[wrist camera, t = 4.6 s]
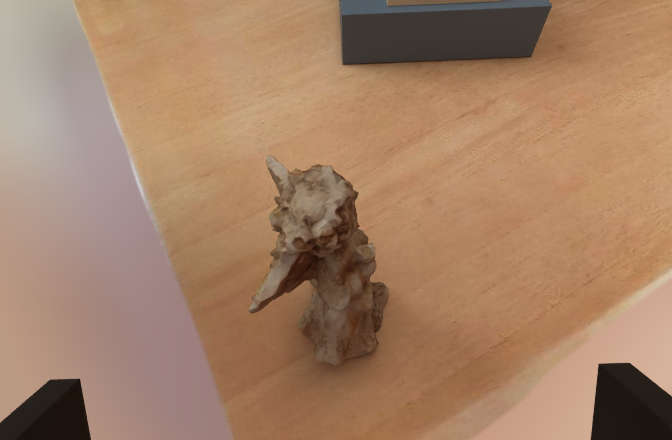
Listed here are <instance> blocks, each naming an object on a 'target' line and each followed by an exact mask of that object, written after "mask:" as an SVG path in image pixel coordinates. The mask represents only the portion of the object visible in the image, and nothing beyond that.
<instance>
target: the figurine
mask: <svg viewBox="0 0 672 440" xmlns="http://www.w3.org/2000/svg"><path fill="white" fill-rule="evenodd" d="M266 163H267V167H268V169H269V172H270V174H271V176H272V178H273V180H274V182H275V184H276V185H277V188H278V190H279V193H280V195H281V196H280V197H279V198H278V197H276V196H275V197H274V199H275V201H276V203H277V204H278V205H279V206H278V207H277V209H274V210H273V212H272V213H271V215H270V216H269V219H270V222H271V225H272V227H273V230H274V231H277V232H280V234H279V236H278V238H277V241H276V244H277V248H275V249H274V250H273V251H271V252H270V253H271V256H273V257H274V260H273V261H272V262H271V264H270V267H271V270H270V271H269V273H268V274H267V276H266V277H265V279H264V280H263V282H262V284H261V285H260V287H259V288H258V290H257V292H256V294H255V295H254V296H252V299H253V300H254V301H253V303H252V305H251V307H250V308H249V310H248V311H249V312H250V313H252V314H253V313H256V312H258V311H260V310H261V309H263V308H264V307H265V306H266V305H267V304H268V303H270V302H271V301H272V300H275V299H276V298H278V297H279V296H281V295H283V294H284V293H285V292H286V293H289V292H291V291H292V290H294V289H295V288H296V287H298V286H299V285H300V284H301V283H303V282H304V281H305V280H310V283H311V284H312V285H313V286H314V287H315V288H316V290H315V293H314V294H313V295H312V300H311V303H310V305H309V307H308V308H307V309H306V310H305V312H304V314H303V316H302V317H301V318H300V319H299V320H298V322H297V324H298V327H299V328H300V329H301V330H302V333H303V334H305V335H307V336H308V337H310V338H311V339H312V340H313V341H314V342H315V343H316V344H317V347H316V349H315V350H314V355H315V357H316V358H317V360H320V361H323V362H325V363H328V364H330V365H333V366H335V367H339V366H341V365H342V363H343V361H344V359H346V358H350V357H361V356H365V355H366V354H367V353H368V352H370V351H372V350H374V349H375V348H376V346H377V345H378V344H379V343H378V341H377V339H376V334H375V331H378V330H379V328H380V327H381V322H382V318H383V315H382V314H383V306H384V304H385V302H386V301H387V300H388V297H389V294H388V288H387V287H386V286H385V285H384V284H383V283H381V282H379V283H373V282H370V276H371V275H372V274H373V273H374V272H375V269H376V260H374V259H375V247H374V245H373V244H372V243H371V244H368V237H367V236H366V234H365V233H364V232H363V231H362V230H360V229H357V228H358V227H359V224H358V223H357V222H358V221H357V213H356V208H355V204H354V203H355V200H356V198H357V196H358V192H356V191H354V190H353V186H352V184H351V183H350V182H349V181H346V180H345V179H344V178H343V177H342V176H341V175H339V174H338V173H336V172H335V171H334V170H333V168H332V166H331V165H330V166H322V165H319V164H318V165H315V166H312V167H311V168H310V169H309V170H307V171H301V170H298V169H295V170H294V171H292V172H289V171H288V170H287V168H286V167H285V166H284V165H282V164H281V163H280V162H279V161H278V160H277V159H276V158H275V157H273V156H272V155H268V156H267V159H266Z"/></svg>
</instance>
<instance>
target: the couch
mask: <svg viewBox="0 0 672 440" xmlns="http://www.w3.org/2000/svg"><path fill="white" fill-rule="evenodd" d="M339 4H340V23H341V42H342V62H343V64H362V63H386V62H410V61H435V60H459V59H483V58H508V57H531V55H532V53H533V50H534V48H535V46H536V43H537V41H538V38H539V36H540V34H541V31H542V29H543V26H544V24H545V21H546V19H547V17H548V14H549V12H550V9H551V7H552V5H551V3H550V2H549V0H339Z"/></svg>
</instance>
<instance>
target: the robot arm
mask: <svg viewBox="0 0 672 440" xmlns="http://www.w3.org/2000/svg"><path fill="white" fill-rule="evenodd" d="M591 434H592V435H591V440H672V396H670V395H669V394H668V393H667V392H665V391H664V390H663V389H662V388H660V387H659V386H658V385H657V384H655V383H654V382H653V381H652V380H650V379H649V378H648V377H647V376H645V375H644V374H643V373H642V372H640V371H639V370H638V369H637V368H635V367H634V366H633V365H632V364H630V363H608V364H599V367H598V376H597V386H596V396H595V405H594V415H593V424H592V433H591ZM0 440H91V437H90V433H89V426H88V421H87V415H86V410H85V404H84V399H83V394H82V388H81V382H80V379H58V380H49V381H48V382H47V383H46V384H45V385H43V386H42V387H41V388H40V389H39V390H38V391H37V392H35V393H34V394H33V395H32V396H31V397H30V398H28V399H27V400H26V401H25V402H24V403H23V404H21V405H20V406H19V407H18V408H17V409H16V410H14V411H13V412H12V413H11V414H10V415H9V416H8V417H6V418H5V419H4V420H3V421H2V422H1V423H0Z"/></svg>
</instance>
